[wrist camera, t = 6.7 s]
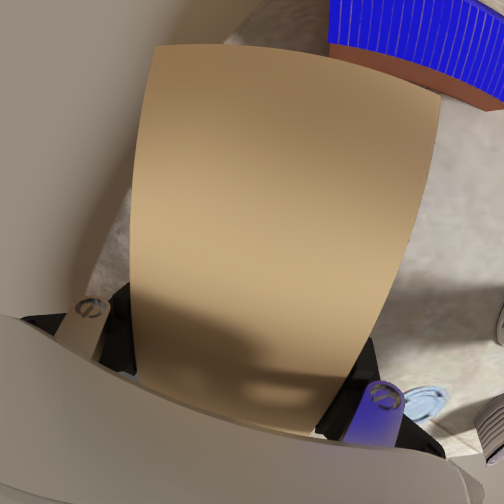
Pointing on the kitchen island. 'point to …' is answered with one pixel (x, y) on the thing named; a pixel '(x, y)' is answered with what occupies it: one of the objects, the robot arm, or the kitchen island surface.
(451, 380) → the kitchen island surface
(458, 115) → the kitchen island surface
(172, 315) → the board
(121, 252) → the kitchen island surface
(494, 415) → the can
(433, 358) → the kitchen island surface
